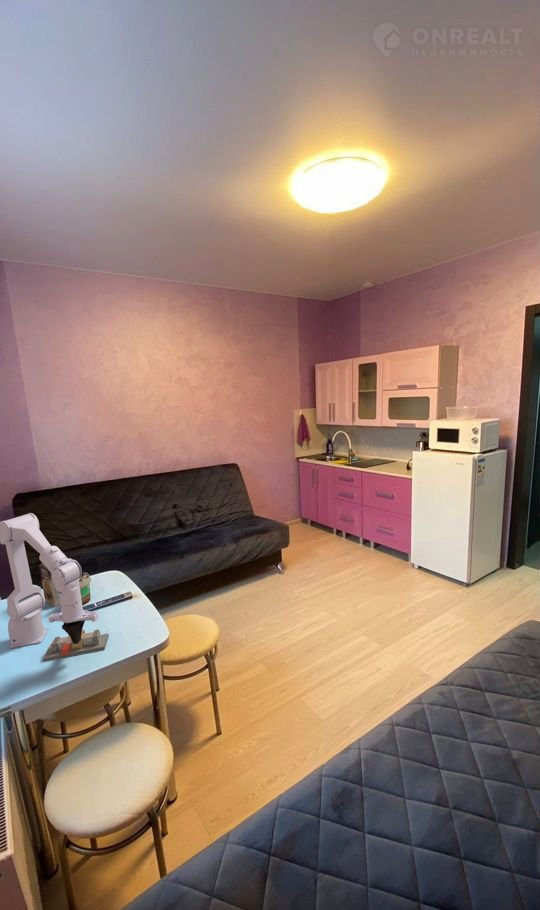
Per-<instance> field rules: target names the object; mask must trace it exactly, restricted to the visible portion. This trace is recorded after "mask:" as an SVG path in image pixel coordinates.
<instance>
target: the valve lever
mask: <svg viewBox="0 0 540 910" xmlns="http://www.w3.org/2000/svg"><path fill="white" fill-rule="evenodd" d="M67 637H68V636H67ZM72 644H73V642H72V640H71V638H70V636H69V637H68V639H67V641H66V643H65V644H64V645H63V647H62V649H61V653H62V655H67V654H70V651H71V649H72Z"/></svg>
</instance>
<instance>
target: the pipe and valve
mask: <svg viewBox="0 0 540 910" xmlns="http://www.w3.org/2000/svg"><path fill="white" fill-rule="evenodd" d="M85 631H86V630H85V629H82V634H81V640H80V642H79V643H78V644H72V649H71V650H76V649H81V648H83V647H84V646H89V645H93V646H95V645H98V644H99V643H100V640H101V636H100V635H101V630H100V629H95V630H94V631H91V632H85ZM68 637H69V635H68V634H67V636H65V637H60V636H56V637H54V639H52V641H51V643H50V644H51V648H52V652H53V653H58V651H61V649H62V647H63V645H64V644H65V643H66V641H67V639H68Z"/></svg>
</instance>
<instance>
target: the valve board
mask: <svg viewBox="0 0 540 910" xmlns="http://www.w3.org/2000/svg"><path fill="white" fill-rule="evenodd" d="M100 636H101V640H100V643H99V644H98V645H95V646H93V645H89V646H84V647H83V648H81V649H76V650H71V651H70V654H67V655H62V653H61V651H58V653H53V652H52V648H51V643H50V644H49V646H48V647H47V650H46V651H45V654H44V656H43V658H42V660H43V662H46V661H51V660H56V659H62V658H67V657H72V656H73V657H74V656H78V655H83V654H88V653H92V652H97V651H103V650H105V649H106V646H107V643H108V640H109V637H110V635H109V633H103V634H100Z"/></svg>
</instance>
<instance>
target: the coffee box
mask: <svg viewBox="0 0 540 910" xmlns="http://www.w3.org/2000/svg"><path fill="white" fill-rule="evenodd" d="M38 567H39V573H40V580H41V585H42V593H43V595H44V597H45V603H46V604H47V603H48V604H49V605H51V606H53V607H54V608H57V607H59V606H61V605H60V599H59V592H58V591H57V590H56V587H55V584H54V582H53V580H52V577H51V576H52V573H51V572H50V571H49V570H48V568H47V567H46V566H45V565H44V564H43V563H42V562H41V563H40V564H38Z"/></svg>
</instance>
